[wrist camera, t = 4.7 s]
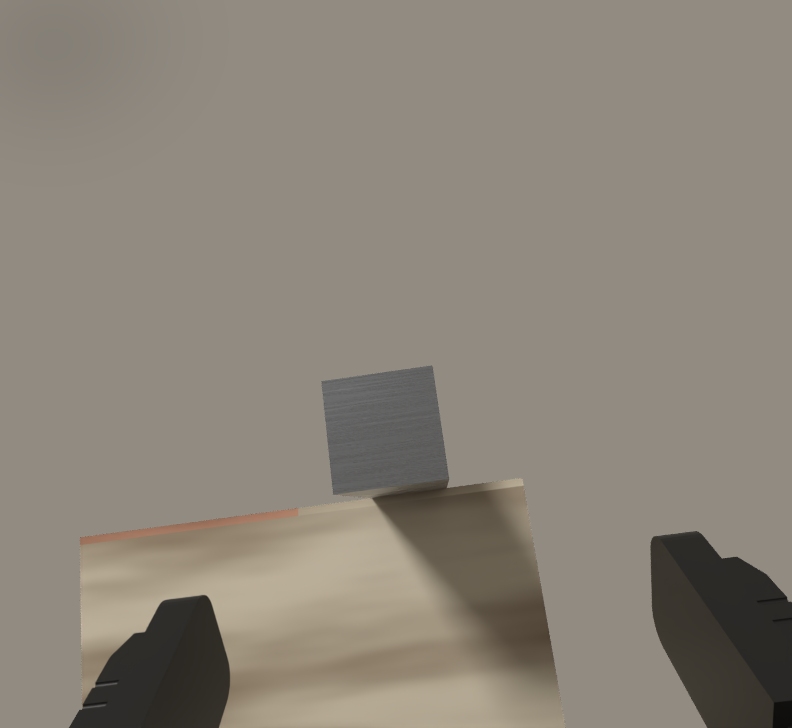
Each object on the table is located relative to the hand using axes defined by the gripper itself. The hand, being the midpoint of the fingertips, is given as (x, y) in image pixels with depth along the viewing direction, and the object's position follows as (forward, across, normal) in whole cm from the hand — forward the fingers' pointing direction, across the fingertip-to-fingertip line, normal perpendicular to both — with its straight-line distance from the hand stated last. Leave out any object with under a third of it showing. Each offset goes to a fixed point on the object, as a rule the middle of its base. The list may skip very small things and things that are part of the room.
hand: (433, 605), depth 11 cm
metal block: (+14, -1, -6) cm, 15 cm away
